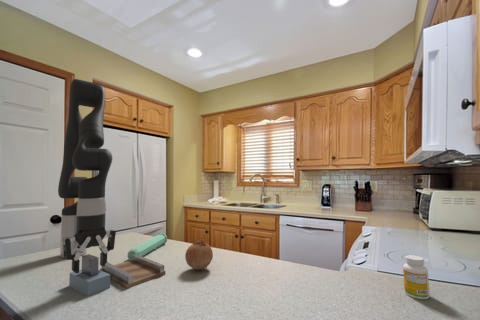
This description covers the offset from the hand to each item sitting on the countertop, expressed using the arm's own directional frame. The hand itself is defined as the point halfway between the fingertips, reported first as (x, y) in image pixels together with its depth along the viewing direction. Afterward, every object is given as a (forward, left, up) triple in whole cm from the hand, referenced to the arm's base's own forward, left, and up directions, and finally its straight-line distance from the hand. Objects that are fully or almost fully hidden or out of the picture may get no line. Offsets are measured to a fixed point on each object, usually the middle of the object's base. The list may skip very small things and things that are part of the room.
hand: (89, 268), depth 73 cm
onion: (+16, +29, -5) cm, 34 cm away
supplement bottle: (+76, +53, -5) cm, 93 cm away
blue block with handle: (0, 0, -5) cm, 5 cm away
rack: (0, +13, -5) cm, 14 cm away
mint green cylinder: (-18, +29, -6) cm, 35 cm away
